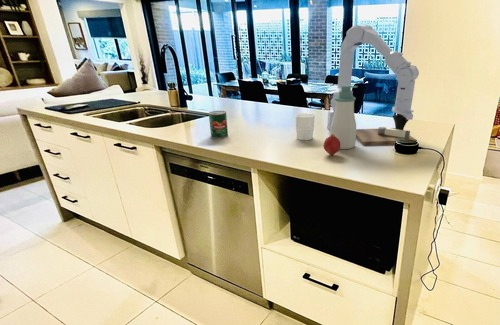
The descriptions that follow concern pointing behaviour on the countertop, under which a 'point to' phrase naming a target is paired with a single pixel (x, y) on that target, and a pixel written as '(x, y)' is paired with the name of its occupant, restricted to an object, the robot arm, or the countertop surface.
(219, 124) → the canned tomato
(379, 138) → the dial board
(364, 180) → the countertop surface
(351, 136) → the soap bottle
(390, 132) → the dial lever
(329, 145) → the onion
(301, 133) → the white cup
